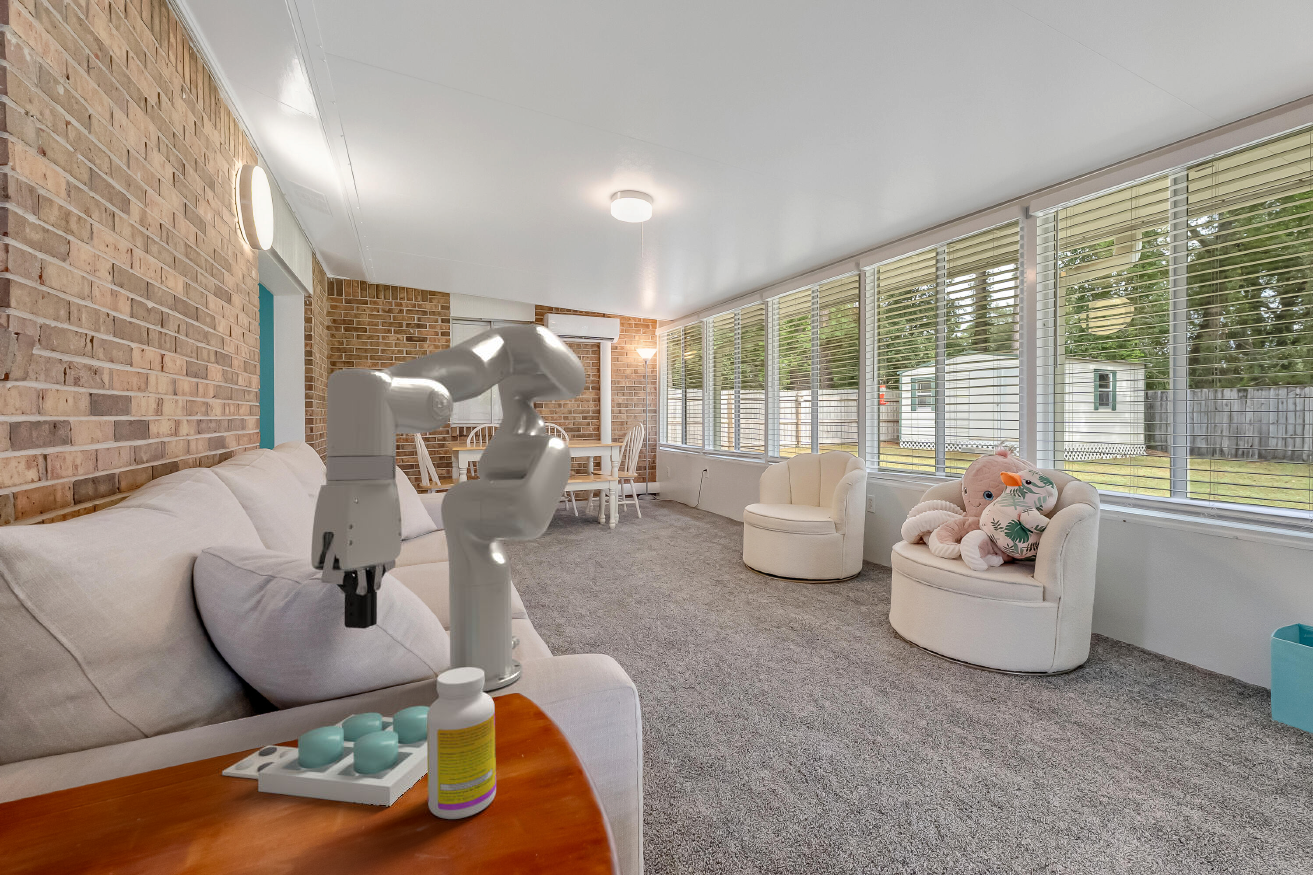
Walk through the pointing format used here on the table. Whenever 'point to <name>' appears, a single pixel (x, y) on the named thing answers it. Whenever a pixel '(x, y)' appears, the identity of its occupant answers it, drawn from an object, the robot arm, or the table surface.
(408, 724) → the button
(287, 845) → the table surface
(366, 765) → the button
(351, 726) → the button
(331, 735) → the button
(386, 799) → the board
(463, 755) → the supplement bottle
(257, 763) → the tile
